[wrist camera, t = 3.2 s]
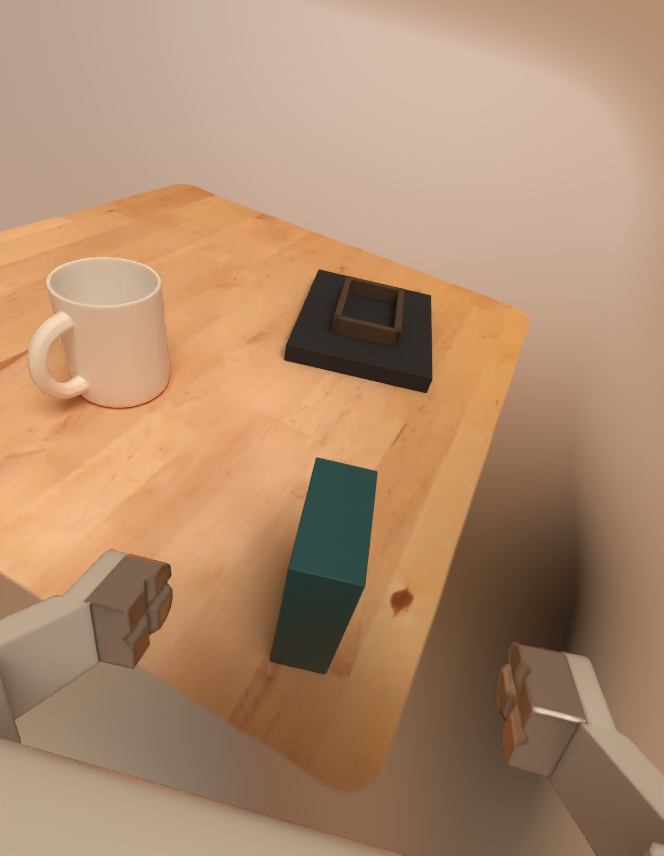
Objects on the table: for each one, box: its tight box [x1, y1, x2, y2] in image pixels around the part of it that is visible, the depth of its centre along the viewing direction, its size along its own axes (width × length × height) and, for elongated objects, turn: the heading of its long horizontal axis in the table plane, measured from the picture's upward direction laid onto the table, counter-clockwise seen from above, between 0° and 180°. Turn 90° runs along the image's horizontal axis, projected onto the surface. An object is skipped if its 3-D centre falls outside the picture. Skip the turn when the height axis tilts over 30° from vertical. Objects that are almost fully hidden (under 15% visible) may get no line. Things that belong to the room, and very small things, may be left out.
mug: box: [28, 257, 169, 408], centre depth 38 cm, size 12×8×10 cm
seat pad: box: [285, 270, 432, 393], centre depth 56 cm, size 16×20×4 cm
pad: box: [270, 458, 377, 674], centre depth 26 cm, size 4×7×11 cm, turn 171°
